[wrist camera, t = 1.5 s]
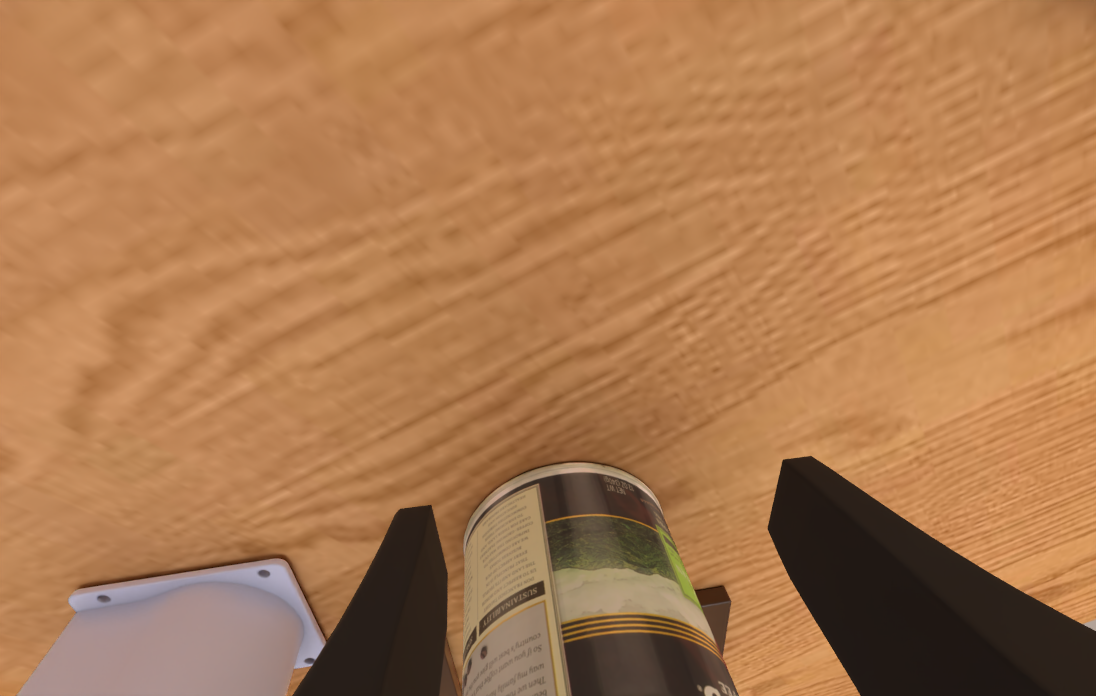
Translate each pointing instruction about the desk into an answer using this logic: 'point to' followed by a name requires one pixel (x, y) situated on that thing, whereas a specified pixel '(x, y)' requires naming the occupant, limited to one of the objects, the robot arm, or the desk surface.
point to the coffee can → (581, 593)
